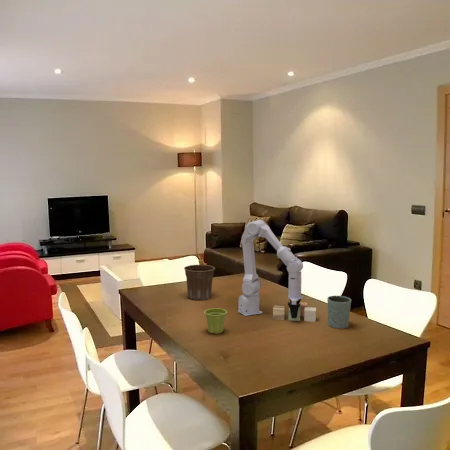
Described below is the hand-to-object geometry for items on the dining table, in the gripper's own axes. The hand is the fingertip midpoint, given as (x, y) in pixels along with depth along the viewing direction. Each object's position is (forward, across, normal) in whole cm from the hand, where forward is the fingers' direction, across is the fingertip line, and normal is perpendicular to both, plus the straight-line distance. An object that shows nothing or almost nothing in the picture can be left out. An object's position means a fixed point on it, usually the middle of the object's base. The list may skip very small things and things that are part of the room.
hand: (294, 315), depth 209 cm
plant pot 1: (+2, +26, +51) cm, 57 cm away
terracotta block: (+2, +8, -3) cm, 8 cm away
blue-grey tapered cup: (+2, -6, -19) cm, 20 cm away
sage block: (+2, 0, 0) cm, 2 cm away
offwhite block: (+2, 0, -7) cm, 7 cm away
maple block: (+2, 0, +7) cm, 7 cm away
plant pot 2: (+2, -23, +32) cm, 39 cm away
